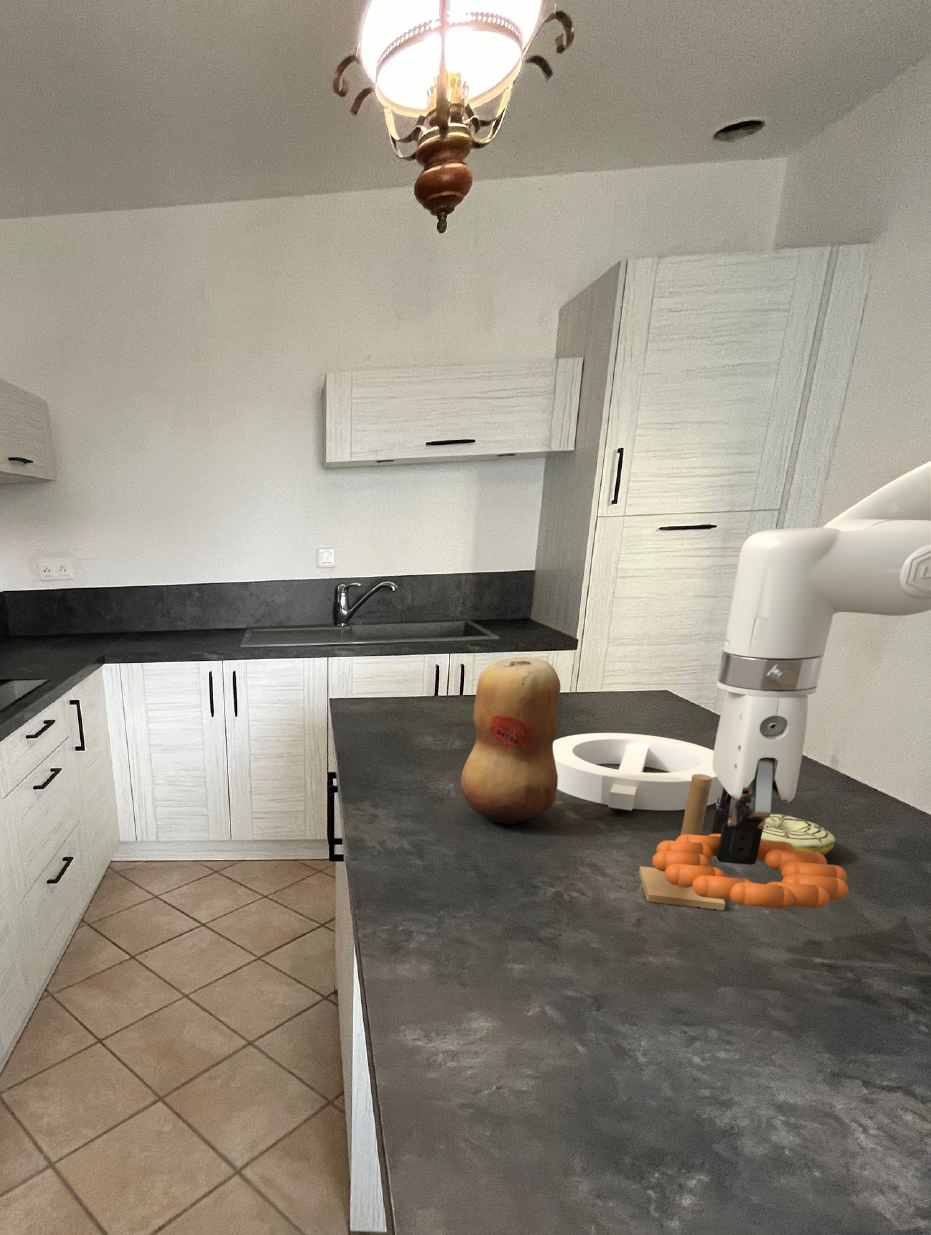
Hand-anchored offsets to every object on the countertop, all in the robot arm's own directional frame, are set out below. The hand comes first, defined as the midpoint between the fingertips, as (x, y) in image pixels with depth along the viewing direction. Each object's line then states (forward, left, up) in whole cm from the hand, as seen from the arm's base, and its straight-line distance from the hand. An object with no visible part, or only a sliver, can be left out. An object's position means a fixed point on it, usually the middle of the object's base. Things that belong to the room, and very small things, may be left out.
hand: (731, 853), depth 72 cm
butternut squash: (+21, -33, -12) cm, 41 cm away
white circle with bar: (+1, -57, -12) cm, 58 cm away
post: (0, -15, -12) cm, 19 cm away
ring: (0, +5, 0) cm, 5 cm away
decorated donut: (-15, -32, -12) cm, 37 cm away
